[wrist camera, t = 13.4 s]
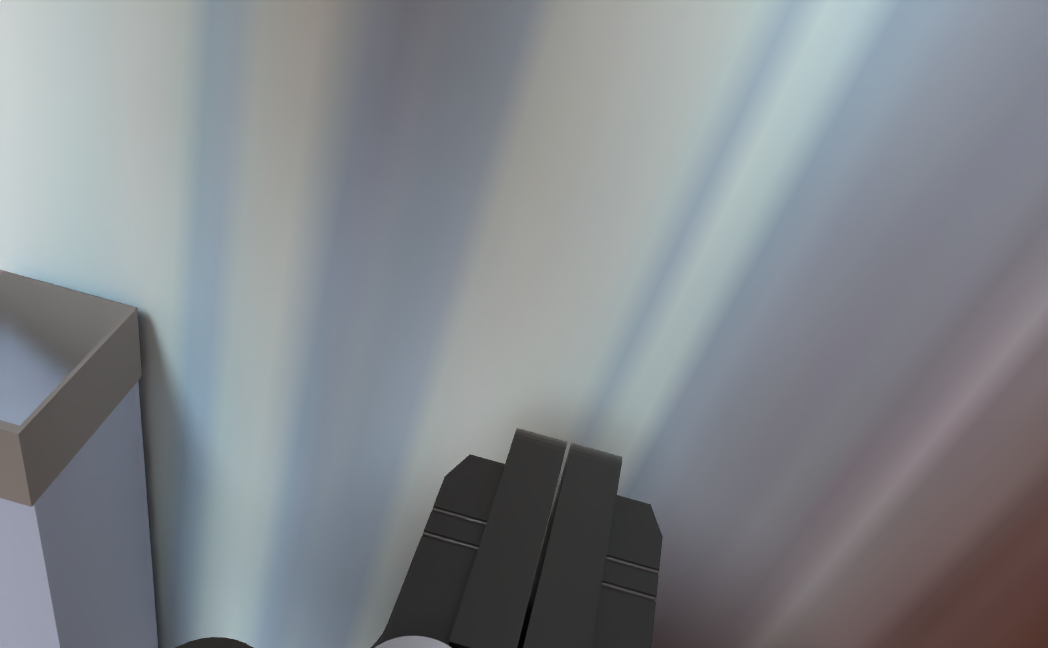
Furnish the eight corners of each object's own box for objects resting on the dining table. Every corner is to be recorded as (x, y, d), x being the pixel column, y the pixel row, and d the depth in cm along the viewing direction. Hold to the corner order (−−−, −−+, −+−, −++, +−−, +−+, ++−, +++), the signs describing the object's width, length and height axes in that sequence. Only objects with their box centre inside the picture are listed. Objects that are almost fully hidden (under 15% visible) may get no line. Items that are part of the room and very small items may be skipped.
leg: (162, 669, 29) (85, 802, 26) (64, 640, 29) (-25, 768, 26) (137, 308, 21) (18, 434, 17) (-1, 269, 21) (-144, 387, 18)
